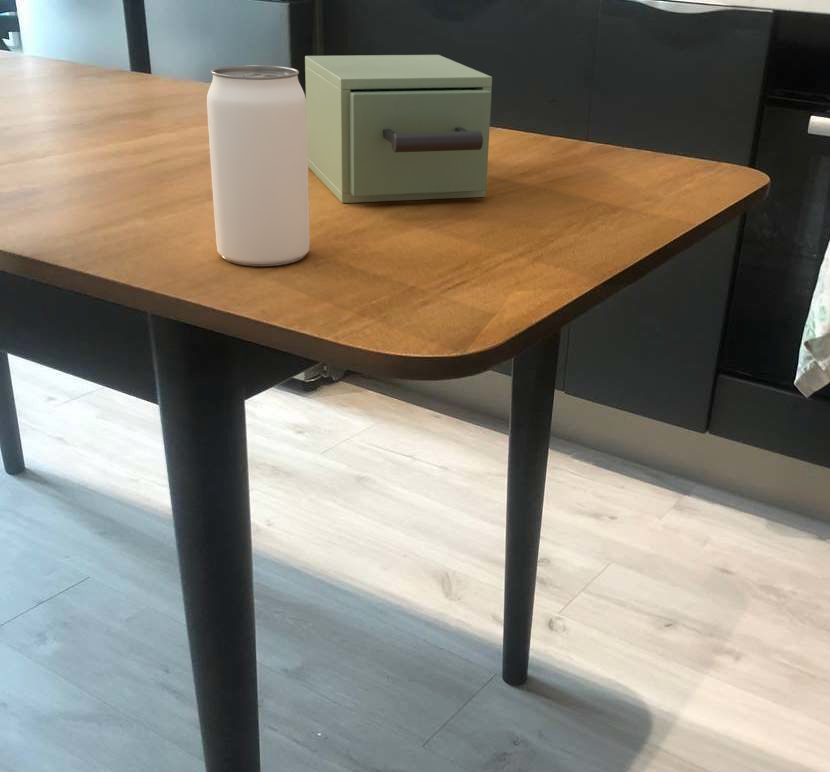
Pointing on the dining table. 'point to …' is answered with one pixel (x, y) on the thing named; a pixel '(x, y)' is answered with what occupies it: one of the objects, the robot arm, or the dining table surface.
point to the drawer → (418, 140)
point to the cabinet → (332, 108)
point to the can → (259, 164)
